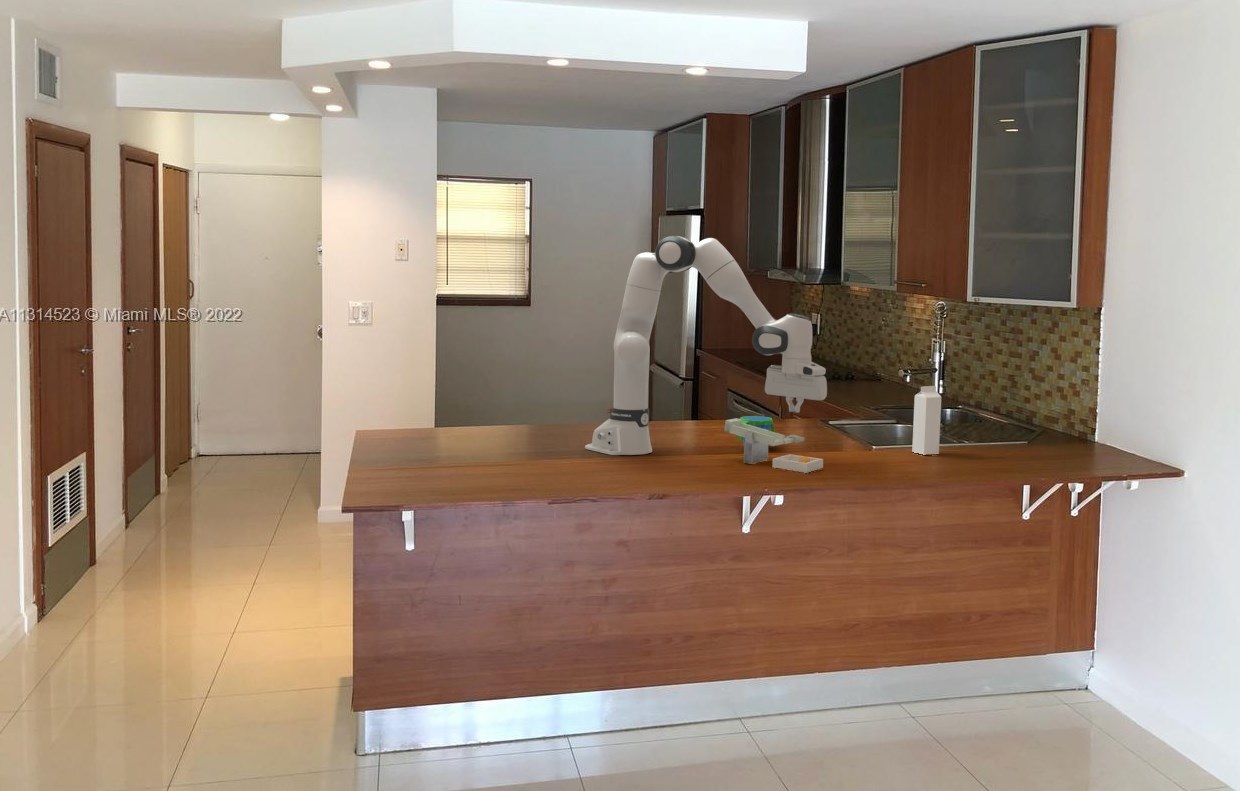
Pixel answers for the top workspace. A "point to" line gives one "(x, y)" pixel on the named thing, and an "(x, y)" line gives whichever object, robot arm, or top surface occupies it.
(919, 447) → the milk
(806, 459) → the ball
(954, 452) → the top surface
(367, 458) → the top surface
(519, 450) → the top surface
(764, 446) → the stand
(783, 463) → the white flat rimmed tray
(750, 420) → the snack cup
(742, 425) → the lever
